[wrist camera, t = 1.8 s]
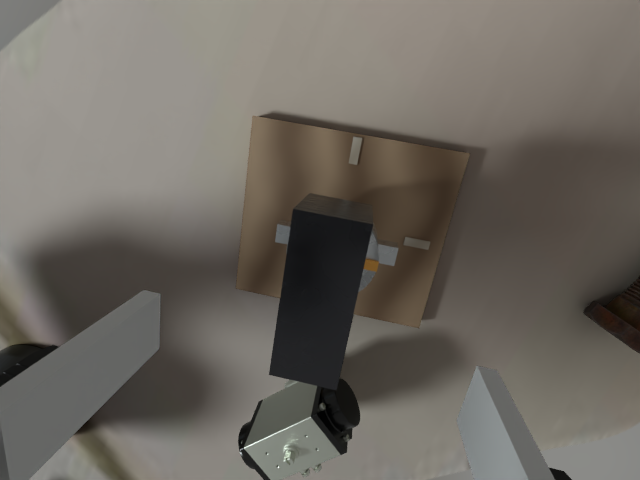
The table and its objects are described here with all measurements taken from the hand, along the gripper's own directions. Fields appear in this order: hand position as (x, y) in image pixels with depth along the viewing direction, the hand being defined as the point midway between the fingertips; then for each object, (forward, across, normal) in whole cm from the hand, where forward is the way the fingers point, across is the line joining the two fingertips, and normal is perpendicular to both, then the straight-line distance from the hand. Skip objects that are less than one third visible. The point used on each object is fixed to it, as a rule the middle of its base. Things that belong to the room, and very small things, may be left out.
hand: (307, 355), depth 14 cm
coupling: (+17, 0, 0) cm, 17 cm away
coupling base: (+22, 0, 0) cm, 22 cm away
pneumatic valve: (+22, 0, +19) cm, 30 cm away
